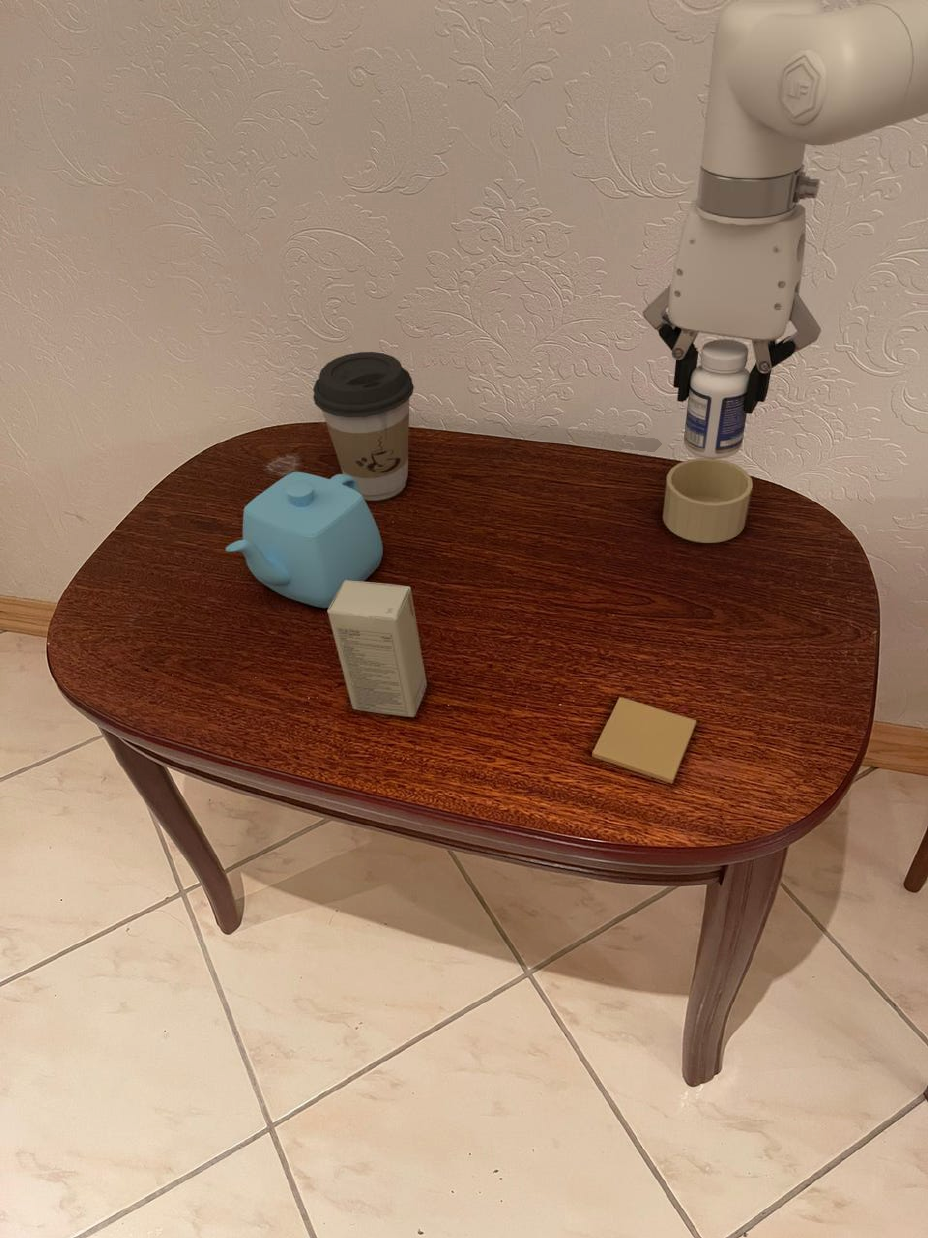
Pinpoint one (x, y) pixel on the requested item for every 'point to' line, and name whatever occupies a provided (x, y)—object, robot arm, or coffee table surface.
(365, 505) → the teapot
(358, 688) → the cosmetic box
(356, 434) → the coffee cup
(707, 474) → the bucket
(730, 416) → the pill bottle
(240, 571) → the coffee table surface
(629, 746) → the mat
